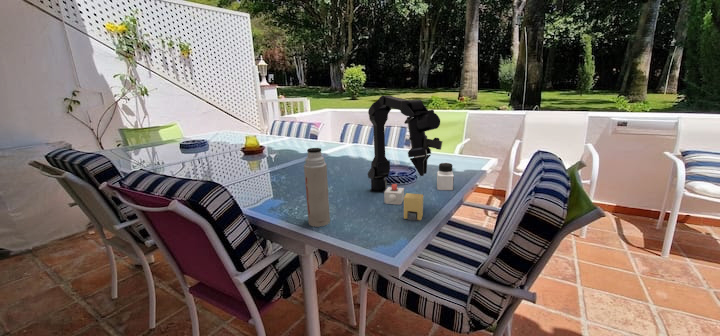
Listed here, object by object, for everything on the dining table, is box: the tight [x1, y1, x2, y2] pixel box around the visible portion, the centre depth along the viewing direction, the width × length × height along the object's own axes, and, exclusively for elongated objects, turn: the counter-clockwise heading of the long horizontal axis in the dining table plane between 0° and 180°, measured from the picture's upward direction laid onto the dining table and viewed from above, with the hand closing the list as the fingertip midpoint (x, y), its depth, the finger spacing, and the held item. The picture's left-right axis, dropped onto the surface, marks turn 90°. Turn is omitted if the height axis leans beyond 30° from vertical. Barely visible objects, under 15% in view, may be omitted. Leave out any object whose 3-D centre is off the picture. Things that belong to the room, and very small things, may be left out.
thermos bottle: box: [303, 147, 331, 228], centre depth 113 cm, size 8×8×28 cm
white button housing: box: [383, 186, 405, 205], centre depth 134 cm, size 7×7×5 cm
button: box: [391, 183, 398, 190], centre depth 133 cm, size 2×2×2 cm
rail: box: [407, 211, 418, 222], centre depth 123 cm, size 3×16×3 cm, turn 161°
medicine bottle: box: [436, 162, 455, 191], centre depth 148 cm, size 7×7×12 cm
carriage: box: [403, 192, 424, 221], centre depth 117 cm, size 6×5×8 cm
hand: (423, 174), depth 117 cm, fingers open, 9 cm apart
